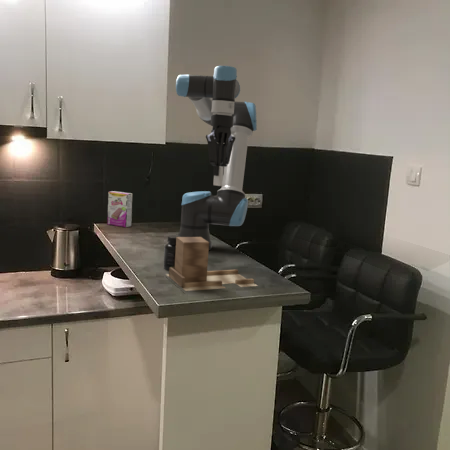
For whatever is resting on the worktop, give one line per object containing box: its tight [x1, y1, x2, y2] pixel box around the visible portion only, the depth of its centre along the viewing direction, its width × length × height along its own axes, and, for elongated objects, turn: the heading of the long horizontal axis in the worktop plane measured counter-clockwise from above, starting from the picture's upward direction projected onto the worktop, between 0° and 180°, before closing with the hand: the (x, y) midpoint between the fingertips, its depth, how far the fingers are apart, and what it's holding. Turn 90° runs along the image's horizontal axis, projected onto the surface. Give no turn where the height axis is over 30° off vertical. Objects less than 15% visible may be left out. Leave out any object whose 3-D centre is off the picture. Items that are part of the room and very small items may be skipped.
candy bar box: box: [106, 190, 134, 228], centre depth 242 cm, size 11×5×16 cm, turn 69°
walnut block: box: [175, 237, 209, 283], centre depth 154 cm, size 8×8×13 cm
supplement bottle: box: [163, 234, 181, 271], centre depth 167 cm, size 7×7×12 cm
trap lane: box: [165, 267, 259, 294], centre depth 157 cm, size 24×18×4 cm
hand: (217, 185), depth 169 cm, fingers closed
